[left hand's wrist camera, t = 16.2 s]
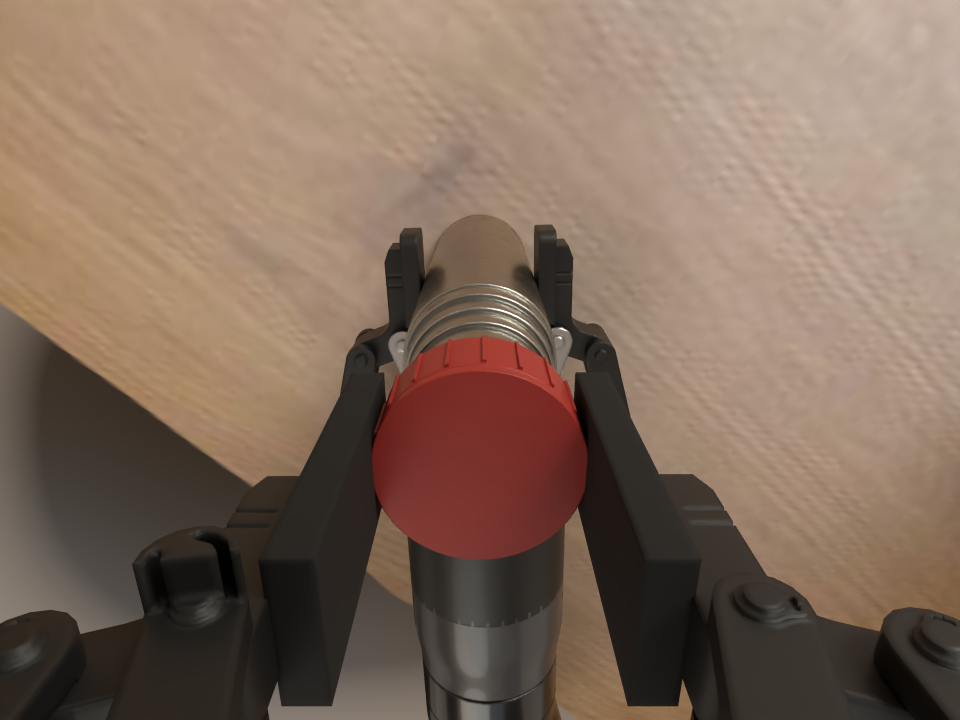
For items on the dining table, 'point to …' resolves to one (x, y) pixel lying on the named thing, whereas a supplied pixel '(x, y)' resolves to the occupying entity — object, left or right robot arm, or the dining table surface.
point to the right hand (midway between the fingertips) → (477, 231)
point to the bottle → (479, 292)
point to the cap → (479, 450)
